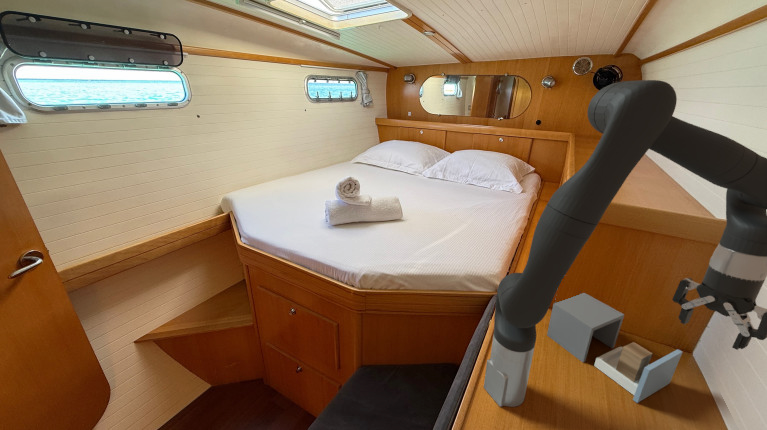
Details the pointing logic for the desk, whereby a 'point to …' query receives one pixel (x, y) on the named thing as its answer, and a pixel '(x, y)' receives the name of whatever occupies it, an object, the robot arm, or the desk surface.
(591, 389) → the desk surface
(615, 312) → the cabinet
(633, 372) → the block
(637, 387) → the drawer
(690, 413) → the desk surface
